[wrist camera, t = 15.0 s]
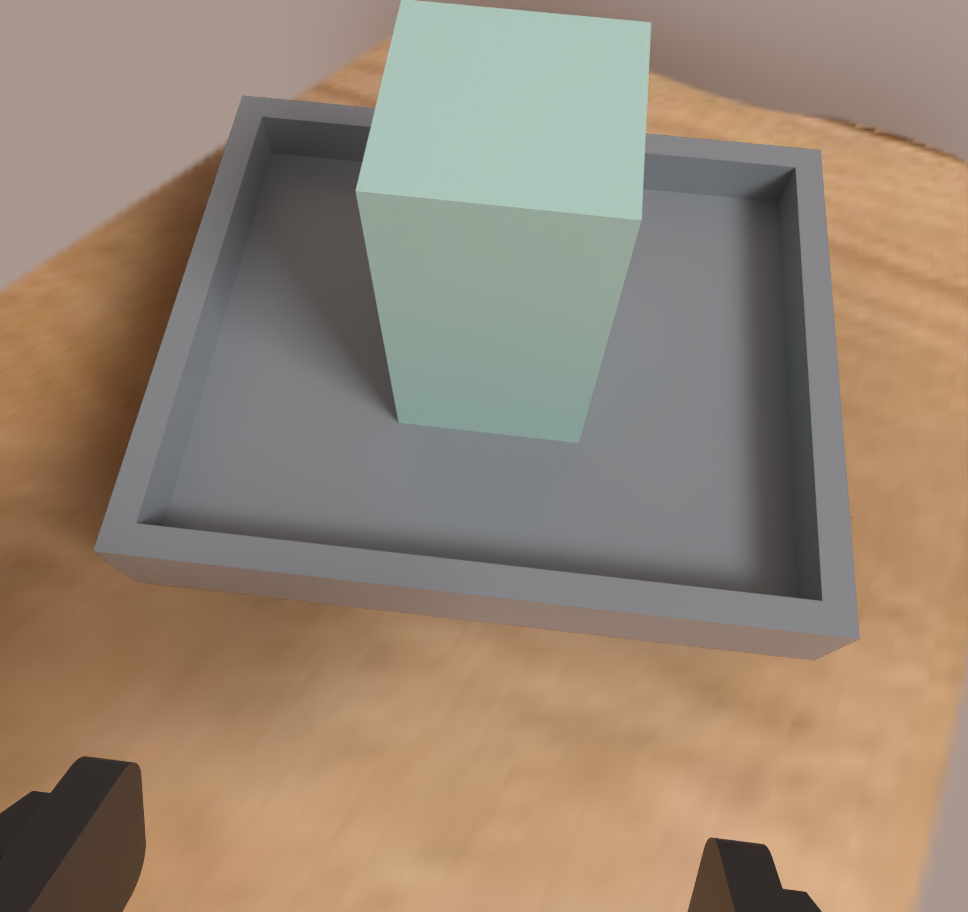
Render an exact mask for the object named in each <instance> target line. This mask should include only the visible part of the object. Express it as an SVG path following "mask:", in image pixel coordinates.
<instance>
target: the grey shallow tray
mask: <svg viewBox="0 0 968 912" xmlns="http://www.w3.org/2000/svg"><path fill="white" fill-rule="evenodd" d="M374 112H375V108H369V107H358V106H348V105H337V104H327V103H316V102H305V101H295V100H284V99H272V98H263V97H251V96H242V99H241V102H240V105H239V108H238V111H237V114H236V117H235V120H234V123H233V126H232V129H231V132H230V135H229V138H228V141H227V144H226V148H225V151H224V154H223V157H222V160H221V163H220V166H219V169H218V172H217V175H216V178H215V181H214V184H213V187H212V190H211V193H210V196H209V199H208V202H207V206H206V209H205V212H204V215H203V218H202V221H201V224H200V227H199V230H198V233H197V236H196V239H195V242H194V245H193V248H192V251H191V254H190V257H189V260H188V263H187V267H186V270H185V273H184V276H183V279H182V282H181V285H180V288H179V291H178V294H177V297H176V300H175V303H174V306H173V309H172V312H171V315H170V318H169V321H168V324H167V328H166V331H165V334H164V337H163V340H162V343H161V346H160V349H159V352H158V355H157V358H156V361H155V364H154V367H153V370H152V373H151V376H150V379H149V382H148V386H147V389H146V392H145V395H144V398H143V401H142V404H141V407H140V410H139V413H138V416H137V419H136V422H135V425H134V428H133V431H132V434H131V437H130V440H129V443H128V447H127V450H126V453H125V456H124V459H123V462H122V465H121V468H120V471H119V474H118V477H117V480H116V483H115V486H114V489H113V492H112V495H111V498H110V501H109V504H108V508H107V511H106V514H105V517H104V520H103V523H102V526H101V529H100V532H99V535H98V538H97V541H96V544H95V547H94V550H93V551H94V552H95V553H96V554H98V555H99V556H101V557H102V558H103V559H105V560H106V561H108V562H109V563H110V564H112V565H113V566H115V567H116V568H118V569H119V570H120V571H122V572H123V573H125V574H126V575H127V576H129V577H130V578H132V579H133V580H134V581H136V582H141V583H150V584H158V585H167V586H176V587H184V588H193V589H202V590H210V591H219V592H227V593H236V594H245V595H253V596H262V597H271V598H279V599H288V600H297V601H305V602H314V603H322V604H331V605H340V606H348V607H357V608H366V609H374V610H383V611H391V612H400V613H409V614H417V615H426V616H435V617H443V618H452V619H460V620H469V621H478V622H486V623H495V624H504V625H512V626H521V627H530V628H538V629H547V630H555V631H564V632H573V633H581V634H590V635H599V636H607V637H616V638H624V639H633V640H642V641H650V642H659V643H668V644H676V645H685V646H694V647H702V648H711V649H719V650H728V651H737V652H745V653H754V654H763V655H771V656H780V657H788V658H797V659H806V660H816V659H818V658H820V657H823V656H825V655H827V654H829V653H831V652H833V651H835V650H838V649H840V648H842V647H844V646H846V645H848V644H850V643H853V642H855V641H857V640H859V639H860V637H859V624H858V612H857V599H856V587H855V574H854V562H853V549H852V537H851V524H850V511H849V499H848V486H847V474H846V461H845V449H844V436H843V423H842V411H841V398H840V386H839V373H838V361H837V348H836V335H835V323H834V310H833V298H832V285H831V273H830V260H829V248H828V235H827V222H826V210H825V197H824V185H823V172H822V160H821V150H816V149H805V148H794V147H784V146H773V145H763V144H752V143H741V142H731V141H720V140H709V139H699V138H688V137H677V136H667V135H656V134H646V139H645V160H644V181H643V201H642V221H641V224H640V228H639V231H638V235H637V238H636V242H635V245H634V249H633V253H632V256H631V260H630V263H629V267H628V270H627V274H626V277H625V281H624V284H623V288H622V292H621V295H620V299H619V302H618V306H617V309H616V313H615V316H614V320H613V323H612V327H611V331H610V334H609V338H608V341H607V345H606V348H605V352H604V355H603V359H602V363H601V366H600V370H599V373H598V377H597V380H596V384H595V387H594V391H593V394H592V398H591V402H590V405H589V409H588V412H587V416H586V419H585V423H584V426H583V430H582V433H581V437H580V441H579V443H573V442H565V441H556V440H547V439H538V438H529V437H520V436H511V435H502V434H494V433H485V432H476V431H467V430H458V429H449V428H440V427H432V426H423V425H414V424H405V423H399V422H398V417H397V412H396V406H395V401H394V395H393V390H392V385H391V379H390V374H389V368H388V363H387V358H386V352H385V347H384V342H383V336H382V331H381V325H380V320H379V315H378V309H377V304H376V298H375V293H374V288H373V282H372V277H371V272H370V266H369V261H368V255H367V250H366V245H365V239H364V234H363V228H362V223H361V218H360V212H359V207H358V202H357V196H356V187H357V183H358V179H359V175H360V170H361V166H362V162H363V158H364V154H365V149H366V145H367V141H368V137H369V133H370V129H371V124H372V120H373V116H374Z"/></svg>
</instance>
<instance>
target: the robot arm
mask: <svg viewBox="0 0 968 912" xmlns="http://www.w3.org/2000/svg"><path fill="white" fill-rule="evenodd" d="M145 848H146V839H145V824H144V809H143V794H142V779H141V770H140V767H139V765H138V764H137V763H134V762H126V761H118V760H110V759H102V758H94V757H86V756H84V757H81V758H79V759H78V760H76V761H75V762H74V763H73V765H72V766H71V767H70V768H69V770H68V771H67V772H66V773H65V775H64V776H63V777H62V779H61V780H60V781H59V783H58V784H57V785H56V787H55V788H54V789H53V790H52V792H51V793H45V792H37V791H32V792H30V793H29V794H27V795H26V796H24V797H23V798H22V799H20V800H19V801H17V802H16V803H14V804H13V805H12V806H10V807H9V808H7V809H6V810H5V811H3V812H2V813H0V912H123V910H124V908H125V906H126V904H127V903H128V901H129V899H130V897H131V895H132V893H133V891H134V889H135V887H136V884H137V882H138V879H139V876H140V873H141V870H142V866H143V862H144V856H145ZM688 912H821V910H820V909H819V908H818V907H817V905H816V904H815V903H814V901H813V900H812V899H811V898H810V896H809V895H808V894H807V892H803V891H795V890H787V889H782V886H781V883H780V880H779V877H778V874H777V870H776V867H775V864H774V861H773V858H772V856H771V853H770V851H769V849H768V848H767V846H766V845H764V844H758V843H750V842H742V841H734V840H726V839H719V838H709V839H708V840H707V842H706V844H705V847H704V851H703V855H702V859H701V863H700V866H699V870H698V874H697V878H696V882H695V886H694V890H693V893H692V897H691V901H690V905H689V909H688Z"/></svg>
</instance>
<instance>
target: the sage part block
mask: <svg viewBox="0 0 968 912" xmlns="http://www.w3.org/2000/svg"><path fill="white" fill-rule="evenodd" d="M650 36H651V23H650V22H640V21H629V20H619V19H608V18H597V17H586V16H576V15H565V14H554V13H544V12H533V11H522V10H511V9H500V8H489V7H478V6H468V5H458V4H447V3H436V2H424V1H415V0H401V3H400V7H399V12H398V16H397V20H396V24H395V28H394V33H393V37H392V41H391V45H390V49H389V53H388V58H387V62H386V66H385V70H384V74H383V78H382V83H381V87H380V91H379V95H378V99H377V104H376V108H375V112H374V116H373V120H372V124H371V129H370V133H369V137H368V141H367V145H366V149H365V154H364V158H363V162H362V166H361V170H360V175H359V179H358V183H357V187H356V196H357V202H358V207H359V212H360V218H361V223H362V228H363V234H364V239H365V245H366V250H367V255H368V261H369V266H370V272H371V277H372V282H373V288H374V293H375V298H376V304H377V309H378V315H379V320H380V325H381V331H382V336H383V342H384V347H385V352H386V358H387V363H388V368H389V374H390V379H391V385H392V390H393V395H394V401H395V406H396V412H397V417H398V422H399V423H405V424H414V425H423V426H432V427H440V428H449V429H458V430H467V431H476V432H485V433H494V434H502V435H511V436H520V437H529V438H538V439H547V440H556V441H565V442H573V443H579V441H580V437H581V433H582V430H583V426H584V423H585V419H586V416H587V412H588V409H589V405H590V402H591V398H592V394H593V391H594V387H595V384H596V380H597V377H598V373H599V370H600V366H601V363H602V359H603V355H604V352H605V348H606V345H607V341H608V338H609V334H610V331H611V327H612V323H613V320H614V316H615V313H616V309H617V306H618V302H619V299H620V295H621V292H622V288H623V284H624V281H625V277H626V274H627V270H628V267H629V263H630V260H631V256H632V253H633V249H634V245H635V242H636V238H637V235H638V231H639V228H640V224H641V221H642V201H643V181H644V160H645V139H646V118H647V98H648V77H649V56H650Z"/></svg>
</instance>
